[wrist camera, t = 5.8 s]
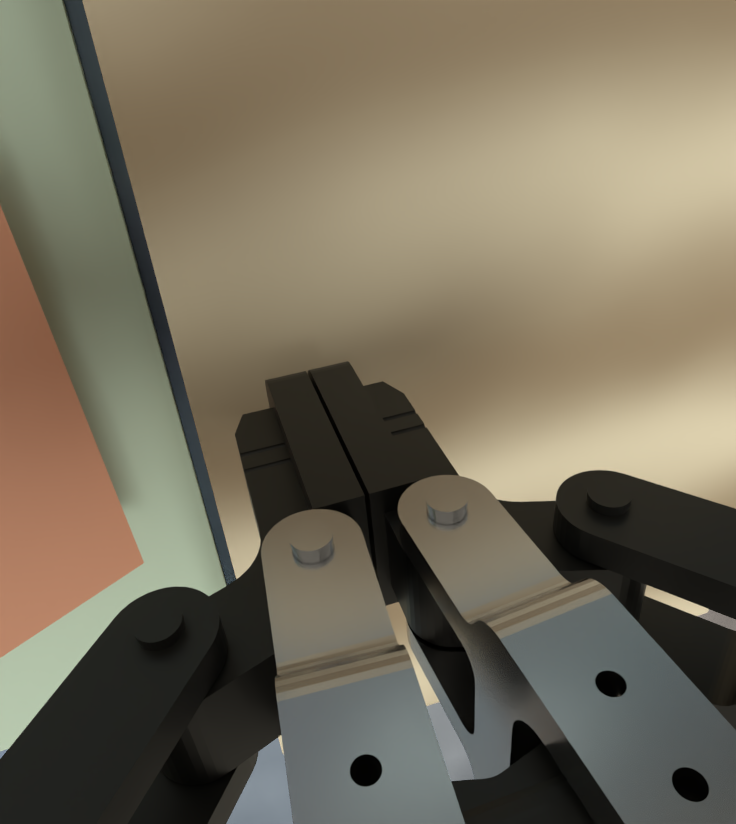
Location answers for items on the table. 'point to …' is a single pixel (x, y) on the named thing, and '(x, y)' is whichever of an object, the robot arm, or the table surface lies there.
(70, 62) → the mat
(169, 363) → the table surface
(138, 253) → the table surface
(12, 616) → the salmon orange block
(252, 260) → the deck
